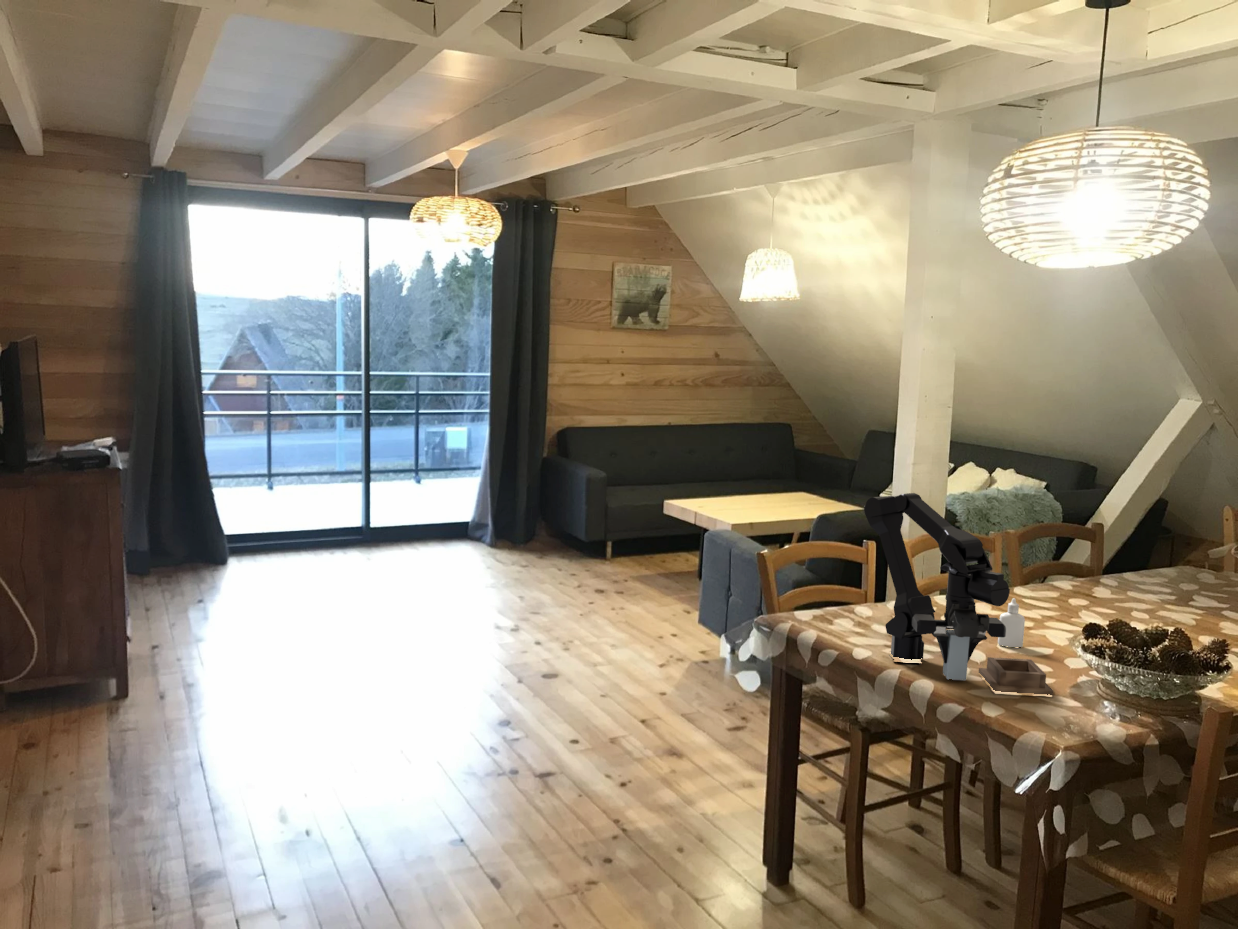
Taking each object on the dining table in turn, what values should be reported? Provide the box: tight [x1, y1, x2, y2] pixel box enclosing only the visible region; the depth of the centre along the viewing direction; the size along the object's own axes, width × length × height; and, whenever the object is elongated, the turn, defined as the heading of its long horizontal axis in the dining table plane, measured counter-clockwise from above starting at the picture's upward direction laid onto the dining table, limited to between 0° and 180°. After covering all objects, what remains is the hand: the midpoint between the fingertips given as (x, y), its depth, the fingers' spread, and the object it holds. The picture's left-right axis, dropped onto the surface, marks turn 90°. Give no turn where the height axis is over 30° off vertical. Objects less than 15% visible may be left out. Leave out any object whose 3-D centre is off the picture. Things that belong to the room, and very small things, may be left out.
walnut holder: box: [978, 657, 1054, 696], centre depth 210 cm, size 12×12×4 cm
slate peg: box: [942, 629, 970, 681], centre depth 212 cm, size 4×4×10 cm
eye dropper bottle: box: [997, 597, 1026, 648], centre depth 236 cm, size 4×6×12 cm
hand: (955, 663), depth 213 cm, fingers closed on slate peg, 4 cm apart
